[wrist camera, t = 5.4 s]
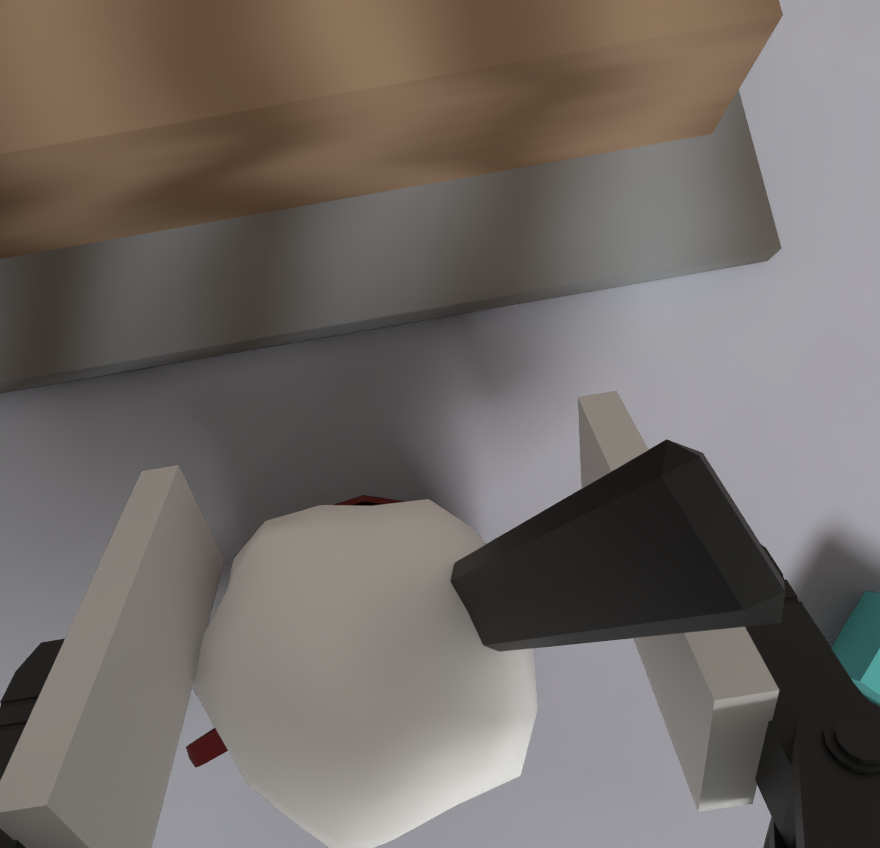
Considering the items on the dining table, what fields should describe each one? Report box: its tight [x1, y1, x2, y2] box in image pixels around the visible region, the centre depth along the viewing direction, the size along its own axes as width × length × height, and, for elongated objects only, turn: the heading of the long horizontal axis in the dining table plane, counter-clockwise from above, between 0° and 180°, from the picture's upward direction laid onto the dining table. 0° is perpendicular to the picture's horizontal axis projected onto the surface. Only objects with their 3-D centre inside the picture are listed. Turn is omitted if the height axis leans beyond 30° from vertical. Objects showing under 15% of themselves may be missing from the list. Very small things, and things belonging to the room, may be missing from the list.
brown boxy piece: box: [0, 0, 783, 393], centre depth 17 cm, size 26×12×5 cm, turn 99°
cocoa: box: [186, 440, 785, 848], centre depth 11 cm, size 10×6×12 cm, turn 97°
